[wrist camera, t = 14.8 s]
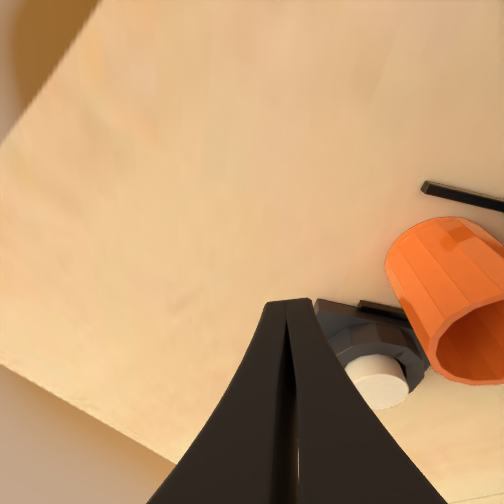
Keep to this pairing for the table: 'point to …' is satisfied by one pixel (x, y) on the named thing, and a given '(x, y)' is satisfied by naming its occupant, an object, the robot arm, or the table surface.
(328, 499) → the robot arm
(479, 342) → the cup
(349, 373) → the button
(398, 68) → the table surface
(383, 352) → the button block
